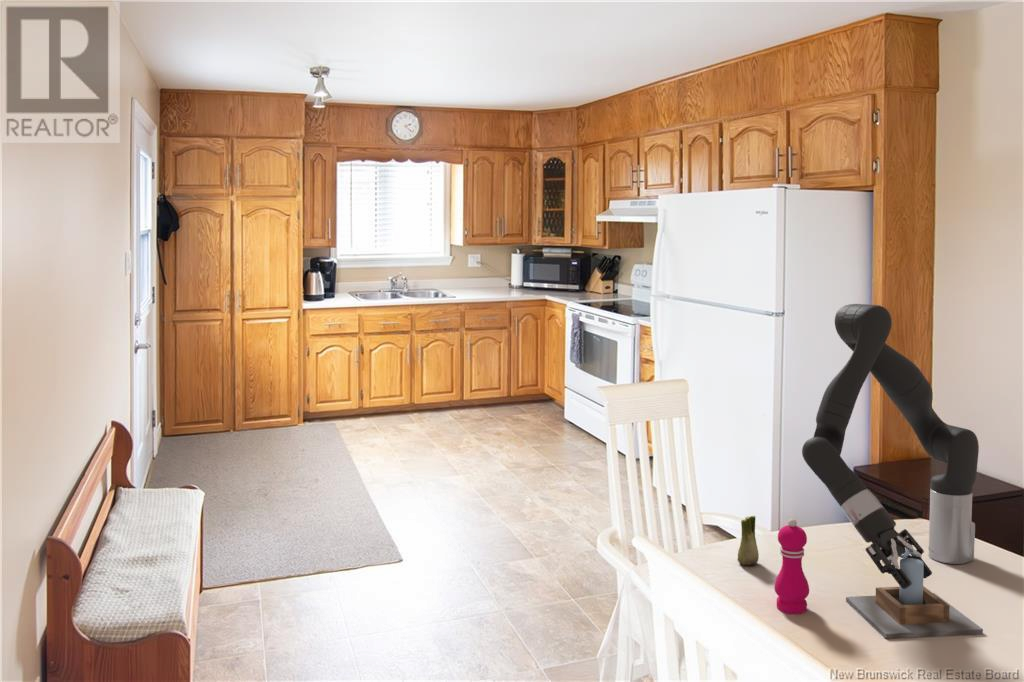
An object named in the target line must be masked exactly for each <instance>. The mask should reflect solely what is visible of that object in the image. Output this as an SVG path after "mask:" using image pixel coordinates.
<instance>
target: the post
mask: <svg viewBox="0 0 1024 682" xmlns="http://www.w3.org/2000/svg"><path fill="white" fill-rule="evenodd" d="M900 568H901V569H902V571H903V572H904V573H905V575H906V576H907V577H908V579H909V580H910V581H911V583H912V584H911V585H910V586H909V587H907V588H906V589H902V587H901V586H900V585H899V587H900V588H899V603H901V604H902V605H919V604H923V586H924V578H923V574H924V563H923V562H922V561H921V560H918V559H914V558H900V560H899V569H900Z"/></svg>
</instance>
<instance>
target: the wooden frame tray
mask: <svg viewBox="0 0 1024 682" xmlns="http://www.w3.org/2000/svg"><path fill="white" fill-rule="evenodd" d="M899 588H900V586H885V587H875V595H864V596H863V595H861V596H856V595H855V596H846V597H845V602H846V603H847V604H848V605H849V606H850V607H852V608H853V609H854V610H855V611H856V612H857V613H858V615H860V616H861V617H862V618H863V619H864V620H865V621H866V622H867V623H868V624H870V626H872V627H873V629H875V630H876V632H878V633H879V634H880V635H881V637H883V638H884V639H886V640H887V639H889V638H890V639H905V638H908V639H909V638H926V637H928V638H929V637H930V638H931V637H944V636H945V637H946V636H947V637H950V636H966V635H983V634H984V629H983V628H982V627H981V626H980V625H978V624H977V623H975V621H973V620H971V619H970V618H969V617H968V616H967V615H965V614H963V613H962V612H960V611H959V610H958V609H956V608H955V607H954V606H953V605H951V603H948V601H946V600H945V599H943V598H942V597H940V595H938V594H937V593H935V592H932V591H931V590H930V589H928V588H927V587H925V586H924V585H923V604H919V605H902V604H901V603H899ZM902 637H903V638H902ZM890 639H889V640H890Z"/></svg>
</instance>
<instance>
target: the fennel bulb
mask: <svg viewBox="0 0 1024 682" xmlns="http://www.w3.org/2000/svg"><path fill="white" fill-rule="evenodd" d="M740 523H741V540H740V545H739V547H738V551H737V561H738V563H739V564H741V565H743V566H747V567H749V566H752V565H756V564H757V563H758V562H759V558H760V557H759V555H760V553H759V549H758V545H757V539H756V516H755V515H750V516H746V517H745V519H742V520H741V521H740Z"/></svg>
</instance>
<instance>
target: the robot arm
mask: <svg viewBox="0 0 1024 682" xmlns="http://www.w3.org/2000/svg"><path fill="white" fill-rule="evenodd" d="M834 327H835V331H836V333H837V336H839V338H840V339H841V340H842V341H843V343H844V344H845V345H846V346H847V347H848V348H849V349H850V350H851V351H852V354H851V356H850V357H849V359H848V361H847V362H846V363H845V365H844V366H843V367H842V369H841V370H840V371H839V372H838V373H837V374H835V377H833V379H832V380H831V381H830V382H829V384H828V385H827V387H826V389H825V391H824V393H823V395H822V398H821V401H820V404H819V407H818V410H817V413H816V417H815V422H816V428H815V429H814V433H813V437H811V438H808V439H807V440H806V441H805V442H804V443H803V446H802V448H801V454H802V457H803V460H804V462H805V464H807V466H808V467H809V469H810V470H811V471H812V472H813V473H814V474H815V476H817V479H819V480H820V481H821V482H822V483H823V484H824V486H825V487H826V488H827V490H828V492H830V494H831V496H832V497H833V498H834V500H835V501H836V502H837V504H838V505H839V506H840V508H841V509H842V511H843V514H844V515H845V517H847V519H848V520H849V522H850V523H851V525H852V526H853V527H854V528H855V529H856V531H857V532H858V534H859V535H860V536H861V538H862V539H863V540H864V542H866V543H867V544H870V543H871V544H870V545H868V546H867V547H866V548H865V551H866V553H867V554H868V556H869V558H870V559H871V560H872V562H873V563H874V565H875V566H876V567H877V569H878V570H879V571H880V573H881V574H883V575H884V574H885V573H887V574H888V575H891V576H892V577H893V578H894V580H895V581H896V583H897V584H898V585H899V587H900V586H901V587H902V589H906V588H907V587H909V586H910V585H911V584H912V583H911V581H910V580H909V579H908V577H907V576H906V575H905V573H904V572H903V571H902V569H901V568H900V564H899V561H898V560H899V558H900V559H903V558H914V559H918V560H921V561H922V562H923V563H924V574H923V579H927V578H928V577H930V576H932V574H933V572H932V570H931V569H930V567H929V566H928V565H927V564H926V562H925V561H924V560H923V558H922V557H923V556H922V554H924V552H925V551H924V549H923V548H922V546H921V545H920V544H919V543H918V541H916V539H915V538H914V537H913V536H912V535H911V533H910V532H909V531H908V530H907V529H906V528H904V529H902V530H900V532H898V531H897V530H895V527H896V526H897V522H896V521H895V520H894V519H893V517H892V516H891V515H890V514H889V512H888V511H887V510H886V508H885V507H884V506H883V505H882V503H881V502H880V501H879V499H878V498H877V497H876V496H875V495H874V494H873V493H872V492H871V490H870V489H869V488H868V487H867V486H866V485H865V483H864V482H863V481H862V479H861V478H860V477H859V476H858V475H857V474H856V473H855V472H854V471H853V470H852V469H851V467H849V465H848V464H847V463H846V461H844V459H843V457H842V456H841V453H842V451H843V447H844V441H845V436H846V431H847V427H848V426H849V423H850V420H851V418H852V415H853V412H854V408H855V405H856V403H857V400H858V397H859V394H860V392H861V389H862V387H863V385H864V383H865V382H866V380H867V378H868V376H869V374H870V373H871V374H872V376H873V377H874V378H875V380H876V381H877V382H878V384H879V385H880V387H881V388H882V389H883V391H884V392H885V394H886V395H887V396H888V397H889V399H890V401H891V402H893V404H894V405H895V407H896V408H897V409H898V410H899V412H900V413H901V414H902V416H903V417H904V419H905V420H906V421H907V423H908V424H909V426H910V427H911V428H912V430H913V432H914V434H915V435H916V437H917V439H918V440H919V443H920V444H921V446H922V448H923V449H924V451H925V452H926V453H927V455H928V456H929V457H931V458H932V459H934V460H936V461H940V462H943V463H947V466H946V471H945V473H944V474H943V473H942V474H936V475H933V476H932V477H931V478H930V486H929V487H930V490H929V491H930V493H929V498H930V499H929V522H928V523H929V524H928V525H929V526H928V528H929V529H928V556H929V558H931V559H932V560H934V561H937V562H940V563H944V564H952V565H963V564H968V563H969V562H974V561H975V544H976V543H975V535H976V523H975V522H973V521H972V516H973V515H972V514H973V512H972V511H973V510H972V509H973V490H974V489H973V487H974V484H975V483H976V480H977V470H978V462H979V451H980V450H979V449H980V448H979V447H980V445H979V439H978V437H977V435H976V433H975V432H974V431H972V430H971V429H968V428H965V427H964V428H963V427H959V426H955V425H951V424H948V423H946V422H944V421H943V420H942V419H941V417H939V415H938V414H937V413H936V412H935V410H934V408H933V405H932V404H933V399H934V398H933V389H932V385H931V384H930V382H929V381H928V379H927V378H926V377H925V375H924V374H923V372H922V371H921V370H920V368H919V367H918V366H917V365H916V364H915V363H914V362H913V361H912V360H910V359H909V358H907V357H906V356H905V355H903V354H902V353H900V352H898V351H897V350H896V349H894V348H893V347H891V346H890V345H889V344H888V343H886V342H887V340H888V337H889V336H890V333H891V330H892V315H891V314H890V312H889V310H888V308H885V307H884V306H882V305H878V304H865V303H863V304H862V303H850V304H846V305H843V306H841V307H840V308H839V309H838V310H837V311H836V313H835V316H834ZM914 548H915V549H914ZM881 562H882V563H881ZM883 564H884V565H883Z"/></svg>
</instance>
